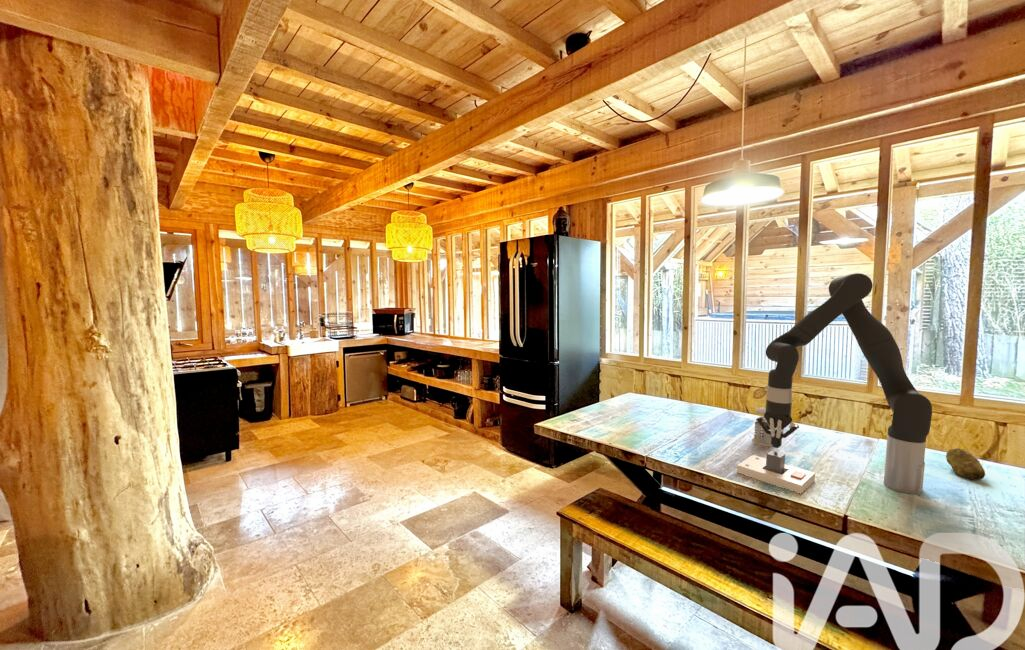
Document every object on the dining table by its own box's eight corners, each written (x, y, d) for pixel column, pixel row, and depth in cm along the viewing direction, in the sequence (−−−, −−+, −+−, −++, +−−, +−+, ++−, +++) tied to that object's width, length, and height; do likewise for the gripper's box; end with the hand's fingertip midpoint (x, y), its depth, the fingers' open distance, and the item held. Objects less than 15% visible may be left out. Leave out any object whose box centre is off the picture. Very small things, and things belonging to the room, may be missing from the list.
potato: (951, 477, 144) (953, 455, 144) (942, 464, 155) (944, 444, 154) (986, 484, 139) (988, 461, 139) (975, 470, 150) (977, 449, 149)
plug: (783, 475, 146) (785, 452, 145) (779, 479, 143) (780, 455, 142) (770, 471, 149) (771, 448, 148) (765, 475, 146) (766, 451, 146)
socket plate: (814, 481, 143) (815, 471, 142) (801, 494, 134) (801, 483, 134) (752, 462, 158) (753, 453, 158) (736, 472, 149) (737, 463, 149)
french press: (780, 442, 178) (783, 385, 176) (773, 449, 170) (776, 390, 168) (755, 436, 185) (757, 382, 183) (747, 443, 177) (749, 386, 175)
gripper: (804, 401, 141) (801, 450, 142) (762, 393, 151) (759, 439, 153) (797, 405, 136) (793, 456, 138) (754, 397, 146) (751, 444, 148)
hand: (776, 447), depth 145 cm, fingers closed
